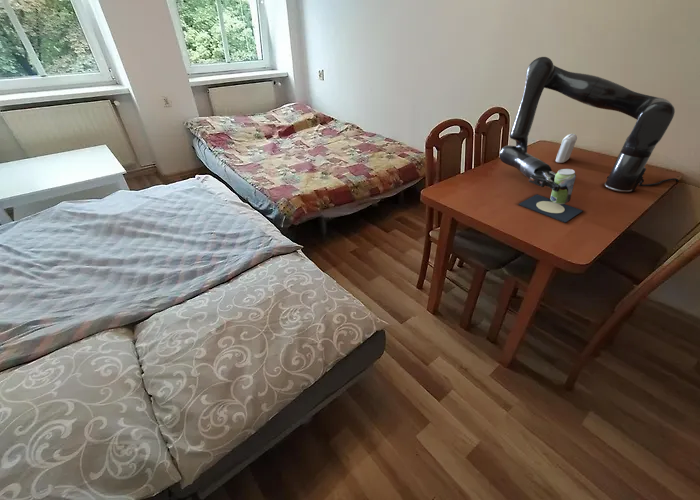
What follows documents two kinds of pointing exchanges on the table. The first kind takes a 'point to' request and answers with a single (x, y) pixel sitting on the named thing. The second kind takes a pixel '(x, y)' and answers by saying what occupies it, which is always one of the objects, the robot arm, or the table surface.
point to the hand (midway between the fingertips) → (563, 188)
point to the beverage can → (563, 186)
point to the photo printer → (566, 148)
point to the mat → (551, 208)
